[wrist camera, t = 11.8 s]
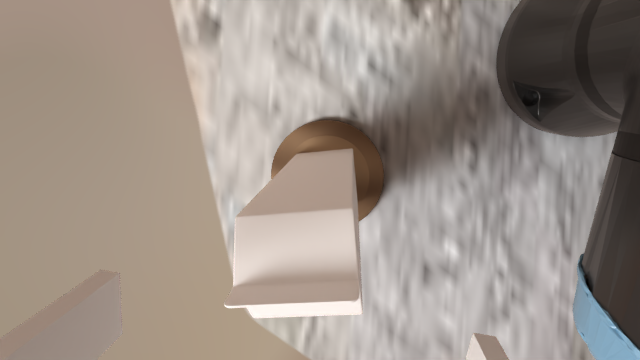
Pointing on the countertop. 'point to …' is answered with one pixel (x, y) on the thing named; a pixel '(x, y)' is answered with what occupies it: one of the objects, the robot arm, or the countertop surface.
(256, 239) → the milk
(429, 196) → the countertop surface
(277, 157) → the disc
